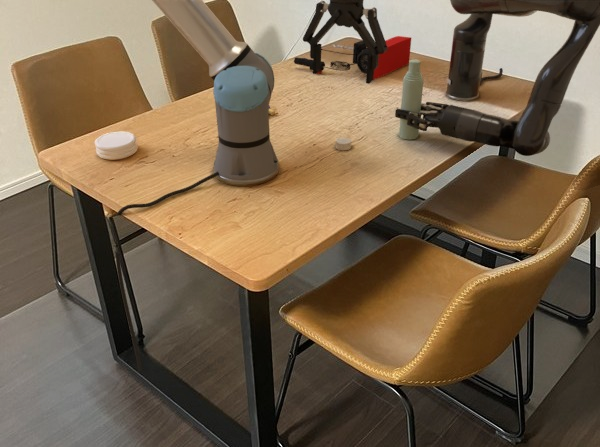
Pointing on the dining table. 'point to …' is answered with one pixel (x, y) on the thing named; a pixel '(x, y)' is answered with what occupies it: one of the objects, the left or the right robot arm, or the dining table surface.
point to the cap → (343, 143)
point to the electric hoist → (386, 64)
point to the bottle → (411, 98)
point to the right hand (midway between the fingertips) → (401, 109)
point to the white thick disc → (116, 145)
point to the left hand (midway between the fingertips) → (342, 77)
